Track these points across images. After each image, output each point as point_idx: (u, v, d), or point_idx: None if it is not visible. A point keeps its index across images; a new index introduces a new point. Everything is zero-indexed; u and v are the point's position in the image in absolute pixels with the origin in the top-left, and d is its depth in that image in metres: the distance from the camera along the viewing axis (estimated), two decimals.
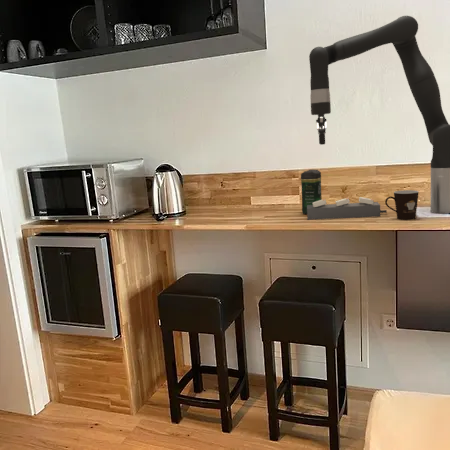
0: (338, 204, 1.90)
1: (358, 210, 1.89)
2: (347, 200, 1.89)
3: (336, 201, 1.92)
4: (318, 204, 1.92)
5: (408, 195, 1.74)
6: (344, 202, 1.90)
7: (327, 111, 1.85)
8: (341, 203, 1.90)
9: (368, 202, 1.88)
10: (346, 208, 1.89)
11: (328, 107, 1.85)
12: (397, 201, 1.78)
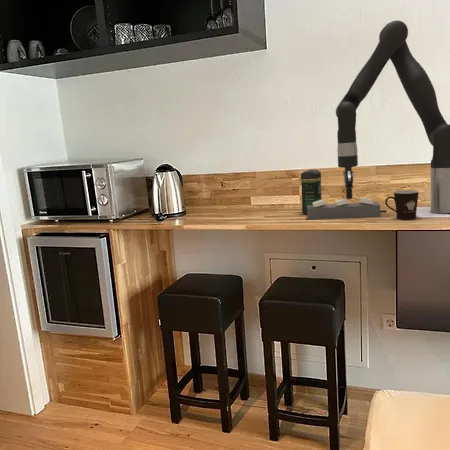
0: (338, 204, 1.90)
1: (358, 210, 1.89)
2: (347, 200, 1.90)
3: (336, 201, 1.92)
4: (318, 204, 1.92)
5: (408, 195, 1.74)
6: (344, 202, 1.90)
7: (354, 164, 1.85)
8: (341, 203, 1.90)
9: (368, 202, 1.88)
10: (346, 208, 1.89)
11: (355, 160, 1.85)
12: (397, 201, 1.78)
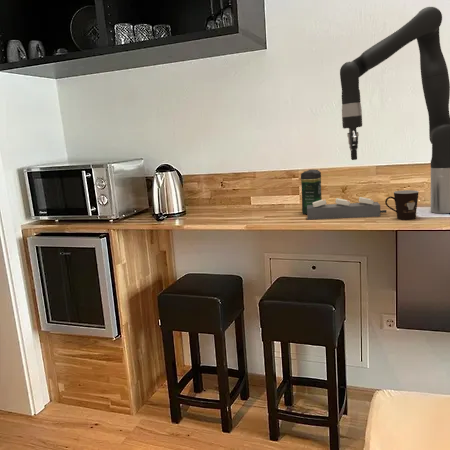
0: (338, 202, 1.90)
1: (358, 210, 1.89)
2: (347, 202, 1.90)
3: (337, 198, 1.92)
4: (318, 204, 1.92)
5: (408, 195, 1.74)
6: (344, 203, 1.90)
7: (359, 124, 1.87)
8: (341, 202, 1.90)
9: (368, 202, 1.88)
10: (346, 208, 1.89)
11: (360, 121, 1.87)
12: (397, 201, 1.78)
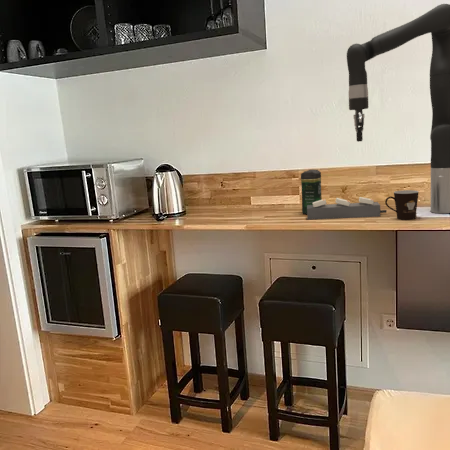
0: (338, 202, 1.90)
1: (358, 210, 1.89)
2: (347, 203, 1.90)
3: (337, 198, 1.92)
4: (318, 204, 1.92)
5: (408, 195, 1.74)
6: (344, 203, 1.90)
7: (365, 106, 1.89)
8: (341, 202, 1.90)
9: (368, 202, 1.88)
10: (346, 208, 1.89)
11: (366, 102, 1.90)
12: (397, 201, 1.78)
